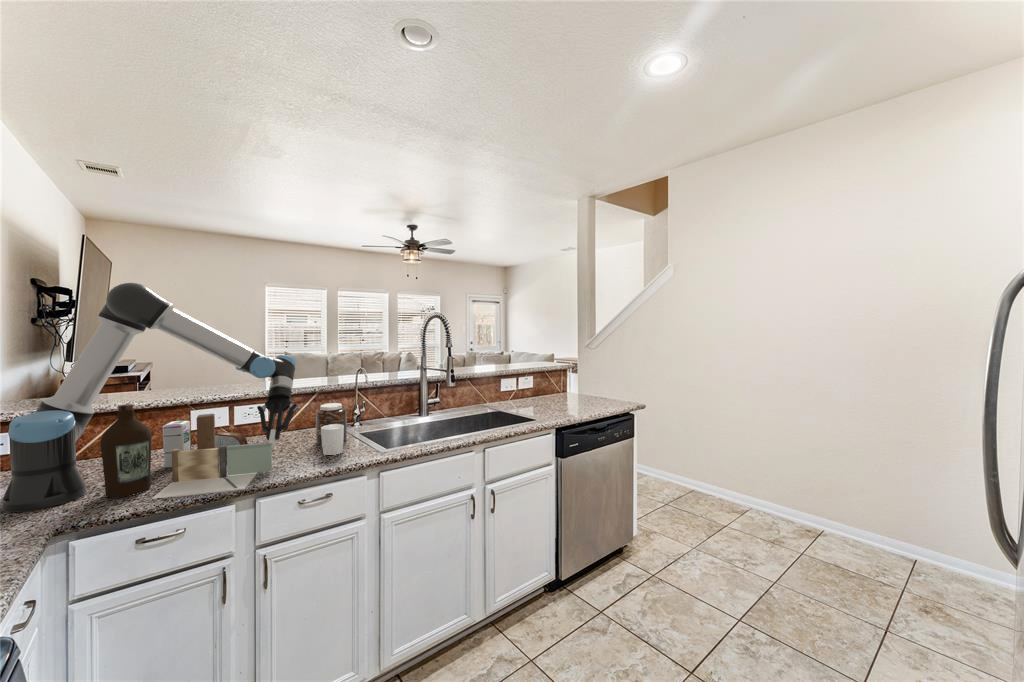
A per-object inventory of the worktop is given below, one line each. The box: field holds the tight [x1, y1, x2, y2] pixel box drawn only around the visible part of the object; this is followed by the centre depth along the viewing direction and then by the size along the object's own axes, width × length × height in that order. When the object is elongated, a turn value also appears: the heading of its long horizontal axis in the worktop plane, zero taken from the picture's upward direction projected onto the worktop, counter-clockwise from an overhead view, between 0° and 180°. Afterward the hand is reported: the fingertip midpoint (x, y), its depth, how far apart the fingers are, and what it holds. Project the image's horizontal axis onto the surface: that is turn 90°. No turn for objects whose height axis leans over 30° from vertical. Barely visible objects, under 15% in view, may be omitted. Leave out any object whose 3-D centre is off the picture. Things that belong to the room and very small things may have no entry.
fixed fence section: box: [171, 445, 228, 482], centre depth 126 cm, size 14×2×10 cm, turn 108°
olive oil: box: [100, 403, 153, 499], centre depth 117 cm, size 11×11×25 cm
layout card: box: [151, 473, 258, 500], centre depth 122 cm, size 22×14×1 cm, turn 108°
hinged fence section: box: [226, 442, 273, 475], centre depth 130 cm, size 12×1×9 cm, turn 108°
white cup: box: [321, 424, 344, 456], centre depth 152 cm, size 8×8×10 cm
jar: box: [315, 402, 348, 446], centre depth 168 cm, size 12×12×15 cm
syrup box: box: [162, 420, 192, 468], centre depth 140 cm, size 6×6×14 cm
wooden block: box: [196, 413, 216, 450], centre depth 134 cm, size 9×4×18 cm, turn 123°
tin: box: [215, 430, 248, 457], centre depth 149 cm, size 15×3×8 cm, turn 76°
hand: (271, 447), depth 138 cm, fingers closed
